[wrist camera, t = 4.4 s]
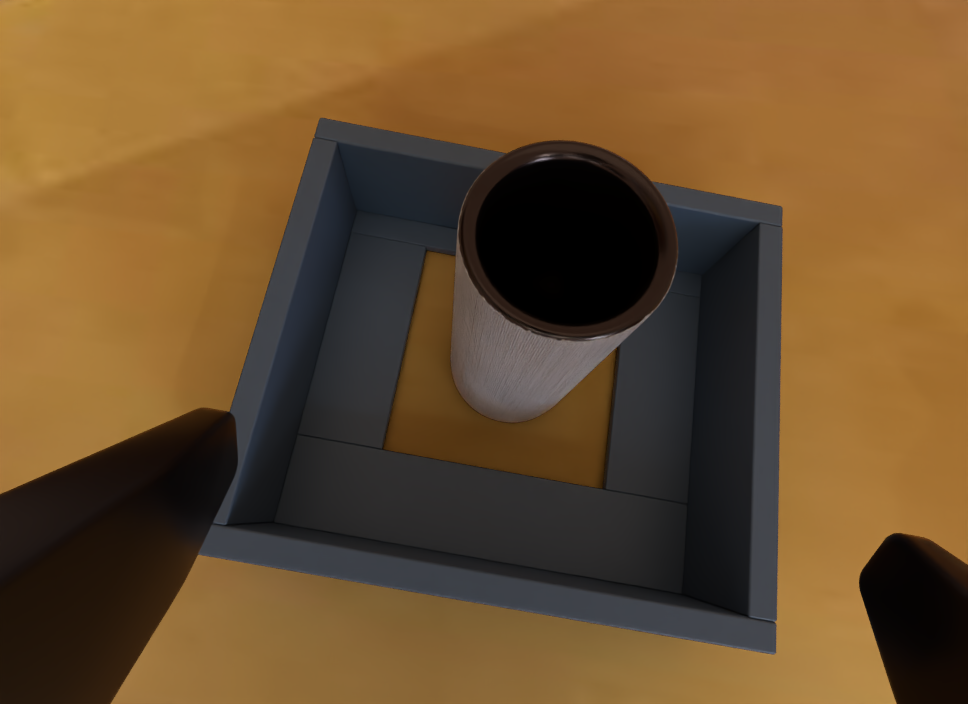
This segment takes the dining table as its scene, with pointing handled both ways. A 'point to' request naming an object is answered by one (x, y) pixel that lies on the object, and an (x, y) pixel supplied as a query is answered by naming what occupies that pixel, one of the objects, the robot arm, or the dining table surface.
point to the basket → (492, 493)
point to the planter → (553, 273)
